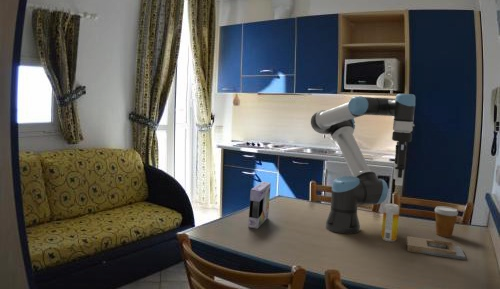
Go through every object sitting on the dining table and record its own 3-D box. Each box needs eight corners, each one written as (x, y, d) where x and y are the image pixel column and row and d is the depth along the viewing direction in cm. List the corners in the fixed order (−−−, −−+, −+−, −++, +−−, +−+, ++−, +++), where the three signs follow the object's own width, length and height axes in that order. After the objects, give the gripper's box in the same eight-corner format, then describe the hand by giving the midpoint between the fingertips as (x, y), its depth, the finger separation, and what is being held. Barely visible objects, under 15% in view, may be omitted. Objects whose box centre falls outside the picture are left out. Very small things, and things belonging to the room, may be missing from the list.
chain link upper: (407, 250, 152) (407, 244, 152) (406, 241, 163) (407, 236, 163) (455, 258, 146) (456, 252, 146) (451, 248, 157) (451, 242, 157)
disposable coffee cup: (458, 239, 169) (461, 212, 168) (435, 237, 171) (437, 210, 170) (452, 232, 178) (454, 207, 177) (429, 230, 180) (432, 205, 179)
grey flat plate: (421, 253, 150) (422, 250, 150) (420, 243, 161) (420, 240, 161) (465, 260, 145) (465, 256, 145) (460, 249, 156) (460, 246, 156)
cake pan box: (257, 229, 170) (259, 190, 168) (246, 228, 172) (248, 188, 170) (269, 218, 188) (271, 182, 186) (259, 217, 190) (261, 181, 188)
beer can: (397, 238, 166) (399, 204, 165) (395, 243, 161) (398, 207, 159) (382, 236, 169) (384, 202, 167) (380, 240, 163) (383, 205, 162)
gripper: (415, 134, 148) (409, 189, 150) (409, 130, 171) (404, 177, 174) (394, 133, 150) (389, 187, 152) (391, 129, 174) (386, 175, 176)
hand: (397, 182), depth 163 cm, fingers open, 13 cm apart
